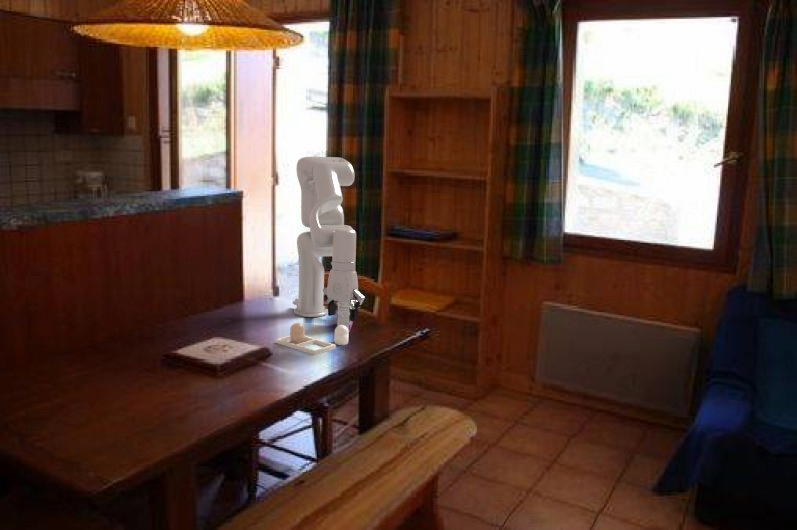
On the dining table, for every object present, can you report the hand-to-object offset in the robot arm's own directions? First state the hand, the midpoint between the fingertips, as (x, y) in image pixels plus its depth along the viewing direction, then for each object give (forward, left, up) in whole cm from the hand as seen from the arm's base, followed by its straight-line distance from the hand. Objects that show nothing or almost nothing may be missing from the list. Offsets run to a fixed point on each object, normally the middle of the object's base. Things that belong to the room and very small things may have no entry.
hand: (342, 317), depth 236 cm
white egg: (-1, 0, -10) cm, 10 cm away
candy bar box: (-14, +16, -10) cm, 23 cm away
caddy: (-7, -10, -10) cm, 15 cm away
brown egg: (-11, -10, -9) cm, 17 cm away
